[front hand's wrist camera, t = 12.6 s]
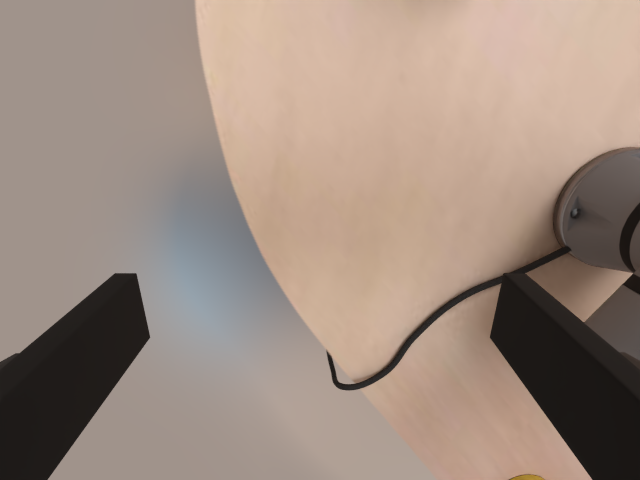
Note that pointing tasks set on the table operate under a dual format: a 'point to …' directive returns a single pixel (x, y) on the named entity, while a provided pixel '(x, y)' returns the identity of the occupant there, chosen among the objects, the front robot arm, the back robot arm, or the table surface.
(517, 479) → the tin
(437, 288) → the table surface
